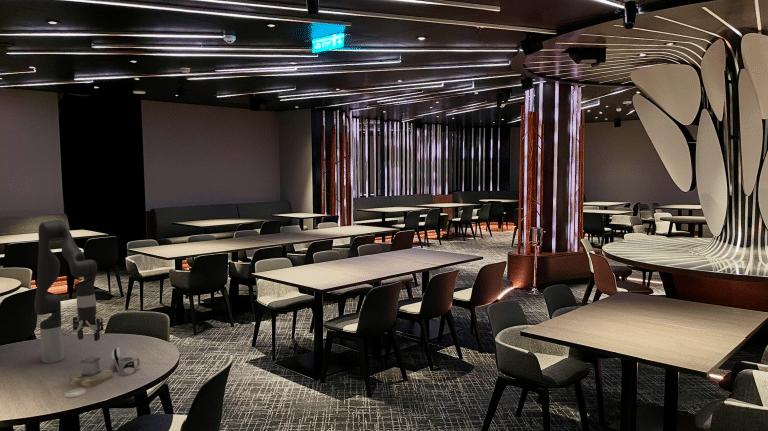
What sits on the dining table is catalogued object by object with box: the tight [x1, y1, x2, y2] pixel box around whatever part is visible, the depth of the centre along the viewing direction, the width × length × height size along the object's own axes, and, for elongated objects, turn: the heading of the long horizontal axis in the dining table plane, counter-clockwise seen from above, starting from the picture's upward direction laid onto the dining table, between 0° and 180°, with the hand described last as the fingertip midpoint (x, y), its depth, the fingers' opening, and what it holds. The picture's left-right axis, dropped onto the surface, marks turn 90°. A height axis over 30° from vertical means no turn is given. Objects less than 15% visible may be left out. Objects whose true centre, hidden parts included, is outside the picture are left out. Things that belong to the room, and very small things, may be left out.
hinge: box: [111, 346, 130, 373], centre depth 273 cm, size 17×5×10 cm, turn 23°
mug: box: [118, 356, 141, 377], centre depth 265 cm, size 10×7×7 cm
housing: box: [80, 356, 102, 377], centre depth 255 cm, size 6×6×7 cm
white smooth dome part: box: [64, 387, 87, 399], centre depth 241 cm, size 8×8×1 cm
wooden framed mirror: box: [69, 368, 114, 388], centre depth 255 cm, size 12×12×3 cm
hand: (89, 339), depth 254 cm, fingers open, 8 cm apart
